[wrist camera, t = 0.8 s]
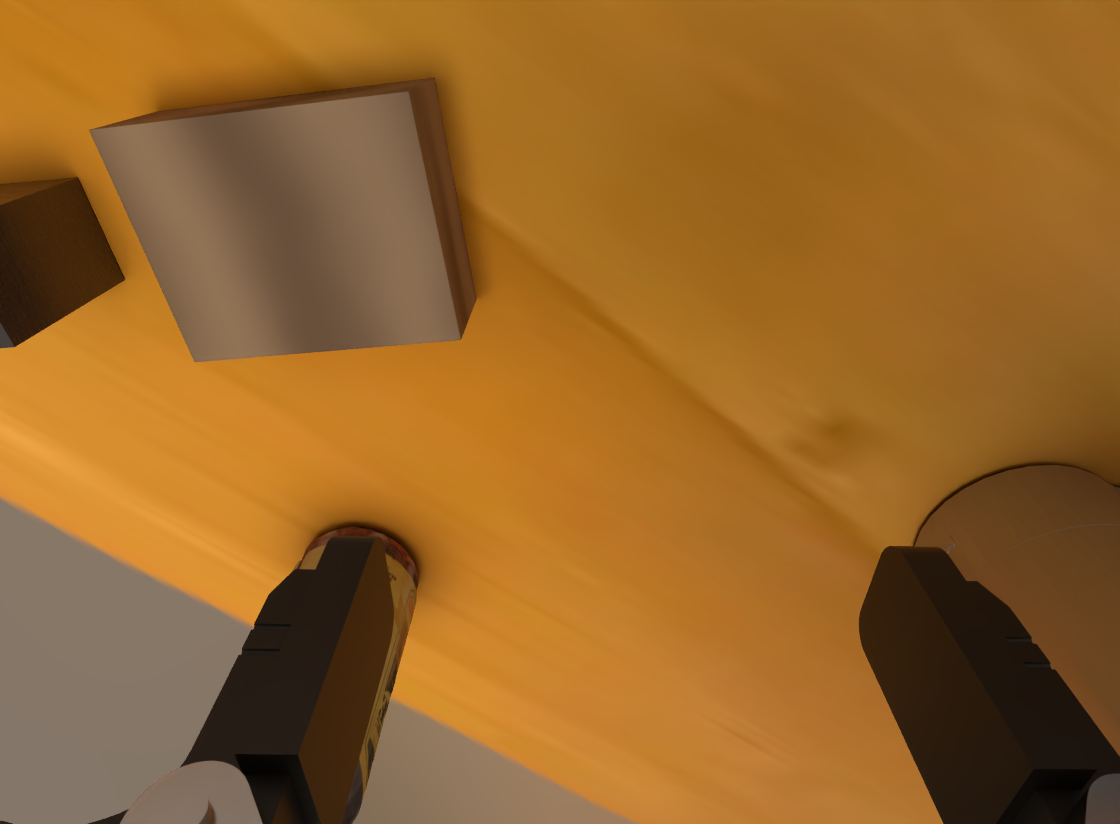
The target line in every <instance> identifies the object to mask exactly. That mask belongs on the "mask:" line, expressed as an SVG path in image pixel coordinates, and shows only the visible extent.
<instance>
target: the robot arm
mask: <svg viewBox="0 0 1120 824" xmlns="http://www.w3.org/2000/svg"><path fill="white" fill-rule="evenodd" d="M393 623H394V604H393V597H392V591H391V585H390V579H389V573H388V567H387V561H386V555H385V549H384V544H383V541H382V539H381V538H380V537H361V536H333V537H331V538H330V539H329V541H328V542H327V544H326V546H325V549H324V551H323V553H322V555H321V558H320V560H319V562H318V564H317V567H316V569H295V570H294V571H293V572H292V573H291V574H290V575H289V576H287V577H286V578H285V579H284V580H283V581H282V582H281V583H280V584H279V585H278V586H277V587H276V588H275V589H274V590H273V591H272V592H271V593H270V594H269V595H268V597H267V599H266V601H265V603H264V605H263V607H262V609H261V611H260V613H259V615H258V617H257V619H256V621H255V623H254V625H255V626H254V630H251V631H250V634H249V635H248V638H247V640H246V641H245V644H244V646H243V647H242V654H241V655H238V658H237V659H236V661H235V664H234V666H233V667H232V669H231V672H230V674H229V676H228V678H227V680H226V682H225V684H224V686H223V688H222V690H221V692H220V694H219V696H218V698H217V700H216V702H215V704H214V706H213V708H212V710H211V712H210V714H209V716H208V718H207V720H206V722H205V724H204V726H203V728H202V730H201V732H200V734H199V736H198V738H197V740H196V742H195V744H194V746H193V748H192V750H191V751H190V753H189V755H188V756H187V758H186V760H185V761H184V763H183V764H182V765H181V767H180V768H178V769H176V770H174V771H172V772H170V773H169V774H167V775H165V776H163V777H162V778H160V779H159V780H158V781H156V782H155V783H154V784H152V785H151V786H150V787H149V788H147V789H146V790H145V791H144V792H143V793H142V794H141V795H140V796H139V797H138V798H137V800H136V801H135V802H134V803H133V804H132V805H131V807H130V808H129V809H128V810H126V811H123V812H121V813H119V814H117V815H114V816H111V817H108V818H106V819H102V820H99V821H96V822H92V823H89V824H341V823H342V819H343V816H344V812H345V808H346V805H347V801H348V797H349V794H350V790H351V786H352V783H353V779H354V775H355V772H356V768H357V764H358V761H359V757H360V753H361V750H362V746H363V742H364V739H365V735H366V731H367V727H368V724H369V720H370V716H371V713H372V709H373V705H374V702H375V698H376V694H377V691H378V687H379V683H380V680H381V676H382V672H383V669H384V665H385V661H386V658H387V654H388V650H389V647H390V643H391V638H392V632H393ZM859 633H860V639H861V643H862V647H863V650H864V652H865V655H866V657H867V659H868V661H869V663H870V665H871V668H872V670H873V672H874V674H875V676H876V678H877V681H878V683H879V685H880V687H881V689H882V691H883V694H884V696H885V698H886V700H887V702H888V704H889V707H890V709H891V711H892V713H893V715H894V717H895V720H896V722H897V724H898V726H899V728H900V730H901V733H902V735H903V737H904V739H905V741H906V743H907V746H908V748H909V750H910V752H911V754H912V756H913V759H914V761H915V763H916V765H917V767H918V769H919V772H920V774H921V776H922V778H923V780H924V782H925V785H926V787H927V789H928V791H929V793H930V795H931V798H932V800H933V802H934V804H935V806H936V808H937V811H938V813H939V815H940V817H941V819H942V821H943V824H1120V487H1114V486H1112V485H1110V484H1108V483H1107V482H1105V481H1104V480H1102V479H1101V478H1099V477H1098V476H1097V475H1095V474H1093V473H1090V472H1087V471H1084V470H1081V469H1078V468H1074V467H1067V466H1060V465H1039V466H1028V467H1023V468H1018V469H1012V470H1008V471H1005V472H1002V473H999V474H996V475H993V476H990V477H987V478H984V479H982V480H980V481H978V482H976V483H974V484H972V485H970V486H968V487H966V488H964V489H963V490H961V491H960V492H959V493H957V494H956V495H954V496H953V497H951V498H950V499H949V500H947V501H946V502H945V503H944V504H943V505H942V506H941V507H939V508H938V509H937V510H936V511H935V512H934V513H933V514H932V515H931V516H930V518H929V519H928V521H927V522H926V524H925V525H924V526H923V528H922V529H921V531H920V533H919V536H918V538H917V541H916V543H915V545H914V546H889V547H887V548H885V549H884V551H883V552H882V554H881V556H880V559H879V562H878V565H877V567H876V570H875V573H874V575H873V578H872V581H871V584H870V586H869V589H868V592H867V595H866V597H865V600H864V603H863V606H862V608H861V612H860V617H859ZM0 824H12V823H8V822H5V821H0Z"/></svg>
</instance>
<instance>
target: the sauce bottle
mask: <svg viewBox="0 0 1120 824" xmlns="http://www.w3.org/2000/svg"><path fill="white" fill-rule="evenodd" d="M333 536H361V537H380V538H381V539H382V541H383V544H384V549H385V555H386V561H387V567H388V573H389V579H390V585H391V591H392V597H393V604H394V623H393V632H392V638H391V643H390V647H389V650H388V654H387V658H386V661H385V665H384V669H383V672H382V676H381V680H380V683H379V687H378V691H377V694H376V698H375V702H374V705H373V709H372V713H371V716H370V720H369V724H368V727H367V731H366V735H365V739H364V742H363V746H362V750H361V753H360V757H359V761H358V764H357V768H356V772H355V775H354V779H353V783H352V786H351V790H350V794H349V797H348V801H347V805H346V808H345V812H344V816H343V819H342V823H341V824H352V823H353V821H354V820H355V818H356V817H357V815H358V813H359V810H360V807H361V804H362V800H363V796H364V793H365V790H366V786H367V782H368V779H369V774H370V770H371V766H372V763H373V760H374V756H375V752H376V748H377V744H378V741H379V737H380V732H381V729H382V725H383V722H384V718H385V714H386V711H387V708H388V704H389V699H390V696H391V693H392V691H393V687H394V684H395V679H396V675H397V671H398V667H399V664H400V660H401V657H402V653H403V650H404V646H405V642H406V639H407V635H408V631H409V628H410V624H411V620H412V616H413V613H414V609H415V605H416V590H417V586H418V582H419V576H418V574H417V569H416V566H415V563H414V561H413V560H412V559H411V558H410V555H409V554H408V553H407V551H406V550H405V548H404V547H403V546H401V545H400V544H399V543H397V542H396V541H395V540H393V539H392V538H390V537H388V536H386V535H384V534H383V533H379V532H375V531H373V530H371V529H366V528H360V527H355V526H351V527H347V528H341V529H336V530H334V531H331V532H328V533H326V534H324V535H323V536H319V537H318V538H317V539H315V540H313V541H312V542H311V544H310V545H309V546H308V548H307V549H306V551H305V554H304V556H303V558H302V560H301V561H299V562H298V563H297V564H296V566H295V568H294V570H295V569H316V567H317V564H318V562H319V560H320V558H321V555H322V553H323V551H324V549H325V546H326V544H327V542H328V541H329V539H330V538H331V537H333ZM294 570H293V571H294ZM293 571H292V572H293Z"/></svg>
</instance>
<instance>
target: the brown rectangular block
mask: <svg viewBox="0 0 1120 824" xmlns="http://www.w3.org/2000/svg"><path fill="white" fill-rule="evenodd" d="M89 131H90V133H91V135H92V137H93V140H94V142H95V144H96V146H97V148H98V151H99V153H100V155H101V157H102V159H103V162H104V164H105V166H106V168H107V170H108V173H109V175H110V177H111V179H112V181H113V184H114V186H115V188H116V190H117V192H118V195H119V197H120V199H121V201H122V203H123V206H124V208H125V210H126V212H127V214H128V217H129V219H130V221H131V223H132V225H133V228H134V230H135V232H136V234H137V236H138V239H139V241H140V243H141V245H142V247H143V250H144V252H145V254H146V256H147V258H148V261H149V263H150V265H151V267H152V269H153V272H154V274H155V276H156V278H157V280H158V283H159V285H160V287H161V289H162V291H163V294H164V296H165V298H166V300H167V302H168V305H169V307H170V309H171V311H172V313H173V316H174V318H175V320H176V322H177V324H178V327H179V329H180V331H181V333H182V335H183V338H184V340H185V342H186V344H187V346H188V349H189V351H190V353H191V355H192V357H193V360H194V362H203V361H215V360H227V359H239V358H251V357H263V356H275V355H287V354H299V353H311V352H323V351H335V350H347V349H359V348H371V347H383V346H395V345H407V344H419V343H431V342H443V341H455V340H461V338H462V336H463V333H464V330H465V328H466V325H467V323H468V320H469V317H470V315H471V312H472V310H473V307H474V304H475V302H476V295H475V290H474V284H473V279H472V274H471V269H470V263H469V258H468V253H467V247H466V242H465V237H464V232H463V226H462V221H461V216H460V211H459V205H458V200H457V195H456V190H455V184H454V179H453V174H452V169H451V163H450V158H449V153H448V147H447V142H446V137H445V132H444V126H443V121H442V116H441V111H440V105H439V100H438V95H437V90H436V84H435V79H434V78H429V79H421V80H413V81H404V82H396V83H388V84H380V85H372V86H363V87H355V88H347V89H339V90H331V91H322V92H314V93H306V94H298V95H290V96H282V97H273V98H265V99H257V100H249V101H241V102H232V103H224V104H216V105H208V106H200V107H192V108H183V109H175V110H167V111H159V112H154V113H150V114H147V115H143V116H139V117H135V118H132V119H128V120H124V121H121V122H117V123H113V124H110V125H106V126H102V127H98V128H95V129H91V130H89Z"/></svg>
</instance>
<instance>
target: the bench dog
mask: <svg viewBox="0 0 1120 824" xmlns="http://www.w3.org/2000/svg"><path fill="white" fill-rule="evenodd" d="M124 280H125V279H124V277H123V275H122V273H121V271H120V269H119V266H118V264H117V262H116V260H115V258H114V256H113V253H112V251H111V249H110V247H109V245H108V243H107V240H106V238H105V236H104V234H103V232H102V230H101V227H100V225H99V223H98V221H97V219H96V217H95V214H94V212H93V210H92V208H91V206H90V204H89V202H88V199H87V197H86V195H85V193H84V191H83V189H82V186H81V184H80V182H79V180H78V178H68V179H57V180H46V181H35V182H24V183H13V184H2V185H0V348H8V347H16V346H17V345H19V344H21V343H22V342H24V341H25V340H27V339H29V338H30V337H32V336H34V335H35V334H37V333H39V332H40V331H42V330H44V329H45V328H47V327H48V326H50V325H52V324H53V323H55V322H57V321H58V320H60V319H62V318H63V317H65V316H67V315H68V314H70V313H71V312H73V311H75V310H76V309H78V308H80V307H81V306H83V305H85V304H86V303H88V302H90V301H91V300H93V299H94V298H96V297H98V296H99V295H101V294H103V293H104V292H106V291H108V290H109V289H111V288H113V287H114V286H116V285H117V284H119V283H121V282H122V281H124Z"/></svg>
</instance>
